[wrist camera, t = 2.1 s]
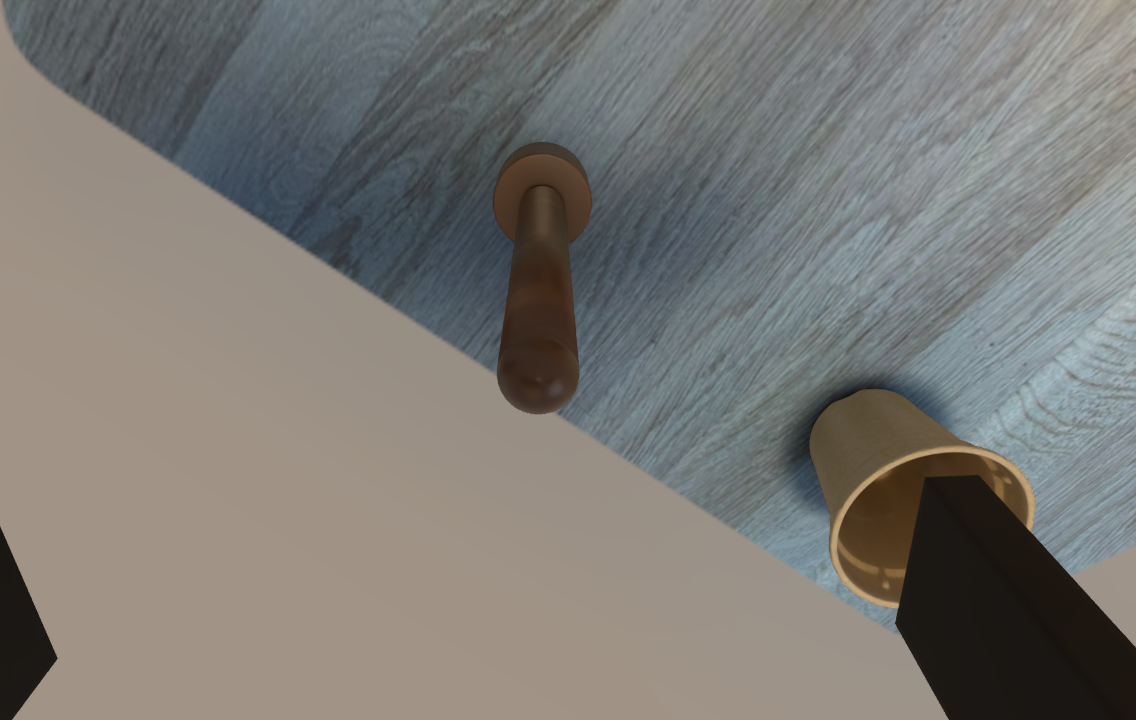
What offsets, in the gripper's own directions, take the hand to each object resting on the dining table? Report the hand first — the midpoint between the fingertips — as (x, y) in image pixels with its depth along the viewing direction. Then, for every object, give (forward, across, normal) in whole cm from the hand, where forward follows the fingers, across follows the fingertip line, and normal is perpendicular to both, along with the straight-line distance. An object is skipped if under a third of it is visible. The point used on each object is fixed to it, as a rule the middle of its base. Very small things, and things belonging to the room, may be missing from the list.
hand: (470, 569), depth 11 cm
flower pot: (+28, +18, -15) cm, 37 cm away
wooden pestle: (+28, +1, -1) cm, 28 cm away
